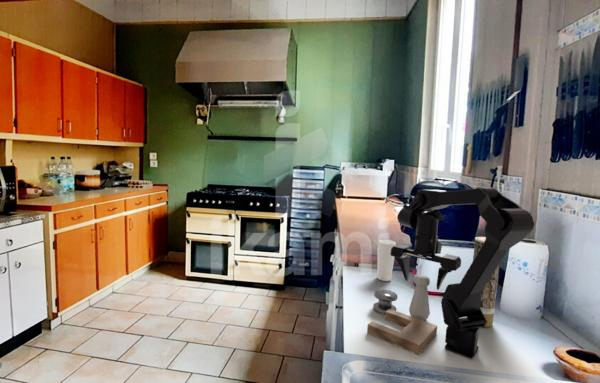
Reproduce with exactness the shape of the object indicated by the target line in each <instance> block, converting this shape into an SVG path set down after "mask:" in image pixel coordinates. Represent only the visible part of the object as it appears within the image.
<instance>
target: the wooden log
mask: <svg viewBox="0 0 600 383" xmlns="http://www.w3.org/2000/svg"><path fill="white" fill-rule="evenodd" d="M485 240H486V236H476V237H475V239H474V249H473V256H472V257H473V258H472V261H473V260H474V259H475V257H476V255H477V254H478V252H479V250H480V248H481V247H482V245H483V243H484V242H485ZM500 265H501V263H500V264H499V265H498V267H497V268H496V270H495V271H494V273H493V274H492V276H491V278H490V279H489V281H488V282H487V284H486V285H485V287H484V288H483V290H482V292H481V305H480V309H481V311H482V313H483V314H484V316H485V318H486V320H487V323H486V325H485V327H484V328H489V327H492V325H493V324H494V316H495V307H496V298H497V290H498V282H499V272H500V267H501V266H500Z"/></svg>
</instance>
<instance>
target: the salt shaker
mask: <svg viewBox="0 0 600 383" xmlns="http://www.w3.org/2000/svg"><path fill="white" fill-rule="evenodd" d="M413 282H414V284H415V287H414V291H413V295H412V297H411V301H410V304H409V309H408V311H409V316H411V317H414V318H417V319H420V320H423V321H425V322H427V320H428V318H429V316H430V315H431V312H430V304H429V303H430V302H429V291H428V286H430V283H431V282H430V278H429V277H428V276H426V275H423V274H417V275H415V276H414V281H413Z"/></svg>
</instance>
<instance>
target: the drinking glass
mask: <svg viewBox="0 0 600 383" xmlns="http://www.w3.org/2000/svg"><path fill="white" fill-rule="evenodd" d="M395 245H397V243H396V241H394V240H391V239H379V240H378V241H377V249H376V250H377V252H376V253H377V254H376V256H377V257H376V258H377V263H376V264H377V270H376V271H377V275H376V276H377V279H378V280H379V281H382V282H390V281H391V280H392V274H393V267H394V264H395V259H394V256H391V255H390V253H391V248H392V247H393V246H395Z"/></svg>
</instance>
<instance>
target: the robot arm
mask: <svg viewBox="0 0 600 383" xmlns="http://www.w3.org/2000/svg"><path fill="white" fill-rule="evenodd" d="M453 205H454V206H455V205H456V206H458V205H459V206H461V205H476V206H477V208H478V211H479V215H480V217H481V218H482V219H483V220H484V221H485V222H486V224H485V226H484V233H485V237H486V240H485V242H484V243H483V245H482V247H481V248H480V250H479V252H478V254H477V255H476V257H475V259H474V260H473V259H472V263H470V265H469V267H468V269H467V271H466V273H465V274H464V275H463V278H462V279H461V281H460V282H459V283H450V284H447V286H446V288H445V291H444V292H443V293H442V294H441V297H442V298H441V300H440V302H441V303H440V304H441V311H442V317H443V322H444V324H445V325H446V326H447V327H446V330H445V339H444V342H445V345H444V348H445V349H446V350H448V351H450V352H453V353H456V354H458V355H461V356H463V357H466V358H469V359H474V357H475V356H476V354H477V352H478V351H479V348H480V347H479V346H478V340H479V333H480V331H479V330H480V329H481V328H482V329H483V328H486V327H485V325H486V323H487V320H486V318H485V316H484V314H483V313H482V311H481V309H480V305H481V292H482V290H483V288H484V287H485V285H486V284H487V282H488V281H489V279H490V278H491V276H492V274H493V273H494V271H495V270H496V268H497V267H498V265H499V264H500V265H501V262H502V260H503V259H504V257H505V256H506V254H507V253H508V251H509V250H510V249H511V248H513V247H514V246H515V245H517V244H519V243H520V242H522V241H523V240H524V239H525V238H526V237H527V236H528V235H530V233H531V232H532V231H533V230H534V227H535V221H534V219H533V216H532V214H531V213H530V212H529V211H528V210H526V209H524V208H522V207H521V206H520V205H519V204H518V203H516V202H515V201H513V200H511V199H509V197H506V196H505V195H503V194H502V193H501V192H500V191H499V190H498V189H496V188H494V187H485V186H484V187H483V186H481V187H479V186H478V187H476V188H470V189H469V188H467V189H457V190H448V191H447V190H441V189H418V190H417V191H416V194H415V196H414V197H413V199H412V200H411V202H410V203H409V204H408V203H407V204H403V208H401V210H400V211H399V212H398V214H397V216H396V217H397V221H398V223H399V224H400V225H401V226H405V227H408V228H411V229H412V230H415V235H414V236H413V237H414V238H413V239H414V249H412V248H411V246H410V245H407V244H402V243H398V244H396V245H395V246H393V247H392V248H391V253H390V255H391V256H394V260H396V261H397V263H398V265H399V267H400V270H401V272H402V274H403V278H404V279H405V281H406V282H408V281H409V278H410V260H411V258H417V259H421V260H424V261H425V260H426V261H430V262H434V263H437V264H439V265H440V267H438V271H437V279H436V290H439V289H440V288H441V287H442V285H443V283H444V280H445V279H446V276H447V275H448V273H452V272H453V271H457V270H458V269H460V268H461V267H462V258H461V257H460V256H457V255H454V254H453V255H452V254H448V253H446V254H444V255H443V256H441V253H442V247H443V243H442V242H440V241H439V235H438V228H439V227H438V226H439V221H443V220H445V216H444V215H443V214H442V213H441V211H440V210H441V209H445V208H448V207H449V206H453ZM438 254H440V255H438Z"/></svg>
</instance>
